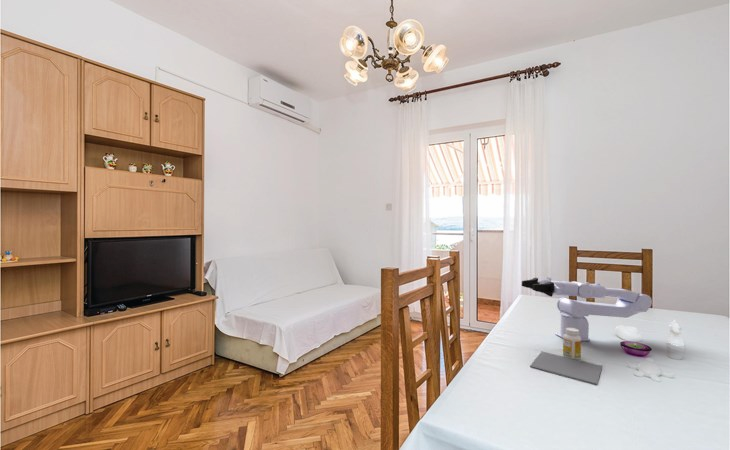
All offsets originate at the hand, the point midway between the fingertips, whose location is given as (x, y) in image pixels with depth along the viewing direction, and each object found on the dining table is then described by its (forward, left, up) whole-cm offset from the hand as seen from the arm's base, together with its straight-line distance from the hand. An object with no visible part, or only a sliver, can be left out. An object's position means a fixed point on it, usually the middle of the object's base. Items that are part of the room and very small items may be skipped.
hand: (527, 285), depth 134 cm
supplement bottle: (-6, +18, -22) cm, 29 cm away
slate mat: (+2, +26, -22) cm, 34 cm away
